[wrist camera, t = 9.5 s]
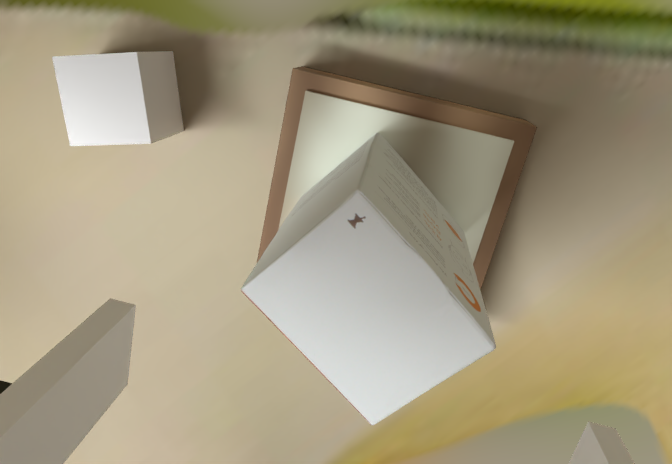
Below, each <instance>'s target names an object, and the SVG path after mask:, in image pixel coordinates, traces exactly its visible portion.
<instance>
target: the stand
mask: <svg viewBox="0 0 672 464" xmlns="http://www.w3.org/2000/svg"><path fill="white" fill-rule="evenodd" d="M536 129H537V127H536V126H535V125H533V124H531V123H530V122H528V121H527V120H524V119H520V118H515V117H511V116H507V115H503V114H499V113H495V112H490V111H486V110H482V109H478V108H474V107H470V106H465V105H461V104H457V103H453V102H449V101H444V100H440V99H436V98H432V97H428V96H424V95H419V94H415V93H411V92H407V91H403V90H399V89H394V88H390V87H386V86H382V85H378V84H373V83H369V82H365V81H361V80H357V79H353V78H348V77H344V76H340V75H336V74H332V73H327V72H323V71H319V70H315V69H311V68H307V67H298V68H293V70H292V75H291V81H290V86H289V92H288V97H287V102H286V108H285V113H284V119H283V124H282V129H281V135H280V140H279V146H278V151H277V156H276V162H275V167H274V173H273V178H272V183H271V189H270V194H269V200H268V205H267V210H266V216H265V221H264V227H263V232H262V237H261V243H260V248H259V254H258V259H257V262H258V261H259V259H260V258H261V256H262V255H263V253H264V251H265V250H266V248H267V247H268V246H269V244H270V242H271V241H272V240H273V238H274V237H275V235H276V233H277V232H278V230H279V229H280V227H281V226H282V224H283V222H284V221H285V219H286V218H287V216H288V215H289V214H290V212H291V211H292V209H293V208H294V206H295V205H296V204H297V202H298V200H299V199H300V198H301V197H302V196H303V195H304V194H305V193H307V192H308V191H309V190H310V189H311V188H312V187H314V186H315V185H316V184H317V183H318V182H319V181H321V180H322V179H323V178H324V177H325V176H327V175H328V174H329V173H330V172H331V171H333V170H334V169H335V168H336V167H337V166H338V165H340V164H341V163H342V162H343V161H344V160H345V159H347V158H348V157H349V156H350V155H351V154H352V153H354V152H355V151H356V150H357V149H358V148H359V147H361V146H362V145H363V144H364V143H365V142H366V141H368V140H369V139H370V138H371V137H372V136H373V135H375V134H376V133H378V132H379V133H380V134H381V135H382V136H383V137H384V139H385V140H386V141H387V142H388V143H389V144H390V145H391V146H392V147H393V149H394V150H395V151H396V152H397V153H398V154H399V155H400V157H401V158H402V159H403V160H404V161H405V162H406V164H407V165H408V166H409V167H410V168H411V169H412V171H413V172H414V173H415V174H416V175H417V176H418V178H419V179H420V180H421V181H422V182H423V183H424V185H425V186H426V187H427V188H428V189H429V190H430V192H431V193H432V194H433V195H434V196H435V197H436V199H437V200H438V201H439V202H440V203H441V205H442V206H443V207H444V208H445V209H446V210H447V212H448V213H449V214H450V215H451V216H452V218H453V219H454V220H455V221H456V222H457V224H458V225H459V226H460V227H461V229H462V230H463V231H464V234H465V238H466V242H467V245H468V249H469V252H470V256H471V260H472V263H473V267H474V270H475V273H476V276H477V280H478V284H479V287H480V290H481V287H482V284H483V281H484V278H485V275H486V272H487V270H488V267H489V264H490V261H491V258H492V255H493V252H494V249H495V247H496V244H497V241H498V238H499V235H500V232H501V229H502V226H503V224H504V221H505V218H506V215H507V212H508V209H509V206H510V203H511V201H512V198H513V195H514V192H515V189H516V186H517V183H518V180H519V177H520V175H521V172H522V169H523V166H524V163H525V160H526V157H527V154H528V152H529V149H530V146H531V143H532V140H533V137H534V134H535V131H536Z"/></svg>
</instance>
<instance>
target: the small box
mask: <svg viewBox="0 0 672 464" xmlns="http://www.w3.org/2000/svg"><path fill="white" fill-rule="evenodd" d="M241 291H242V292H243V294H244V295H245V296H246V297H247V298H248V299H249V300H250V301H251V302H252V303H253V304H254V305H255V306H256V307H257V308H258V309H259V310H260V311H261V312H262V313H263V314H264V315H265V316H266V317H267V318H268V319H269V320H270V321H271V322H272V323H273V324H274V325H275V326H276V327H277V328H278V329H279V331H280V332H281V333H282V334H283V335H284V336H285V337H286V338H287V339H288V340H289V341H290V342H291V343H292V344H293V345H294V346H295V347H296V348H297V349H298V350H299V351H300V352H301V353H302V354H303V355H304V356H305V357H306V358H307V359H308V360H309V361H310V362H311V363H312V364H313V365H314V366H315V367H316V369H317V370H318V371H319V372H320V373H321V374H322V375H323V376H324V377H325V378H326V379H327V380H328V381H329V382H330V383H331V384H332V385H333V386H334V387H335V388H336V389H337V390H338V391H339V392H340V393H341V394H342V395H343V396H344V397H345V398H346V399H347V400H348V401H349V403H350V404H351V405H352V406H353V407H354V408H355V409H356V410H357V411H358V412H359V413H360V414H361V415H362V416H363V417H364V418H365V419H366V420H367V421H368V422H369V423H370V425H375V424H376V423H378V422H379V421H381V420H383V419H384V418H386V417H387V416H389V415H390V414H392V413H394V412H395V411H397V410H398V409H400V408H401V407H403V406H404V405H406V404H407V403H409V402H411V401H412V400H414V399H415V398H417V397H419V396H420V395H422V394H423V393H425V392H427V391H428V390H430V389H431V388H433V387H435V386H436V385H438V384H439V383H441V382H443V381H444V380H446V379H448V378H449V377H451V376H452V375H454V374H456V373H457V372H459V371H460V370H462V369H464V368H465V367H467V366H469V365H470V364H472V363H473V362H475V361H477V360H478V359H480V358H482V357H483V356H485V355H487V354H488V353H490V352H492V351H493V350H494V349H495V348H496V344H495V341H494V337H493V333H492V330H491V326H490V322H489V319H488V315H487V312H486V309H485V305H484V301H483V298H482V294H481V291H480V287H479V284H478V280H477V276H476V273H475V270H474V267H473V263H472V260H471V256H470V252H469V249H468V245H467V242H466V238H465V234H464V231H463V230H462V229H461V227H460V226H459V225H458V224H457V222H456V221H455V220H454V219H453V218H452V216H451V215H450V214H449V213H448V212H447V210H446V209H445V208H444V207H443V206H442V205H441V203H440V202H439V201H438V200H437V199H436V197H435V196H434V195H433V194H432V193H431V192H430V190H429V189H428V188H427V187H426V186H425V185H424V183H423V182H422V181H421V180H420V179H419V178H418V176H417V175H416V174H415V173H414V172H413V171H412V169H411V168H410V167H409V166H408V165H407V164H406V162H405V161H404V160H403V159H402V158H401V157H400V155H399V154H398V153H397V152H396V151H395V150H394V149H393V147H392V146H391V145H390V144H389V143H388V142H387V141H386V140H385V139H384V137H383V136H382V135H381V134H380V133H379V132H378V133H376V134H375V135H373V136H372V137H371V138H370V139H369V140H368V141H366V142H365V143H364V144H363V145H362V146H361V147H359V148H358V149H357V150H356V151H355V152H354V153H352V154H351V155H350V156H349V157H348V158H347V159H345V160H344V161H343V162H342V163H341V164H340V165H338V166H337V167H336V168H335V169H334V170H333V171H331V172H330V173H329V174H328V175H327V176H325V177H324V178H323V179H322V180H321V181H319V182H318V183H317V184H316V185H315V186H314V187H312V188H311V189H310V190H309V191H308V192H307V193H305V194H304V195H303V196H302V197H301V198H300V199H299V200H298V202H297V204H296V205H295V206H294V208H293V209H292V211H291V212H290V214H289V215H288V216H287V218H286V219H285V221H284V222H283V224H282V226H281V227H280V229H279V230H278V232H277V233H276V235H275V237H274V238H273V240H272V241H271V242H270V244H269V246H268V247H267V248H266V250H265V251H264V253H263V255H262V256H261V258H260V259H259V261H258V262H257V264H256V266H255V267H254V269H253V270H252V272H251V273H250V275H249V277H248V278H247V280H246V281H245V283H244V284H243V286H242V288H241Z"/></svg>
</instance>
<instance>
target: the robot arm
mask: <svg viewBox="0 0 672 464" xmlns="http://www.w3.org/2000/svg"><path fill="white" fill-rule="evenodd" d="M135 307H136V305H134V304H130V303H126V302H122V301H118V300H114V299H109V300H108V301H107V302H106V303H104V304H103V305H102V306H101V307H100V308H99V309H97V310H96V311H95V312H94V313H93V314H92V315H91V316H89V317H88V318H87V319H86V320H85V321H84V322H83V323H81V324H80V325H79V326H78V327H77V328H76V329H75V330H73V331H72V332H71V333H70V334H69V335H68V336H66V337H65V338H64V339H63V340H62V341H61V342H60V343H58V344H57V345H56V346H55V347H54V348H53V349H52V350H50V351H49V352H48V353H47V354H46V355H45V356H44V357H42V358H41V359H40V360H39V361H38V362H37V363H36V364H34V365H33V366H32V367H31V368H30V369H29V370H27V371H26V372H25V373H24V374H23V375H22V376H21V377H19V378H18V379H17V380H16V381H15V382H14V383H13V384H12V383H8V382H4V381H0V464H63V463H64V462H65V461H66V460H67V458H68V457H69V456H70V455H71V453H72V452H73V451H74V450H75V448H76V447H77V446H78V445H79V443H80V442H81V441H82V440H83V439H84V437H85V436H86V435H87V434H88V432H89V431H90V430H91V429H92V427H93V426H94V425H95V424H96V422H97V421H98V420H99V419H100V417H101V416H102V415H103V414H104V413H105V411H106V410H107V409H108V408H109V406H110V405H111V404H112V403H113V401H114V400H115V399H116V398H117V396H118V395H119V394H120V393H121V392H122V390H123V389H124V388H125V387H126V385H127V384H128V374H129V365H130V355H131V346H132V336H133V327H134V317H135ZM569 464H635V463H634V461H633V460H632V457H631V456H630V454H629V452H628V451H627V448H626V447H625V445H624V443H623V442H622V439H621V437H620V436H619V434H618V432H617V430H616V429H615V428H612V427H608V426H604V425H600V424H596V423H592V422H588V423H587V425H586V427H585V430H584V432H583V434H582V436H581V438H580V441H579V442H578V445H577V447H576V449H575V451H574V453H573V455H572V457H571V459H570V462H569Z"/></svg>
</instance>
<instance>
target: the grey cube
mask: <svg viewBox="0 0 672 464" xmlns="http://www.w3.org/2000/svg"><path fill="white" fill-rule="evenodd" d="M52 59H53V64H54V69H55V74H56V79H57V84H58V88H59V93H60V98H61V103H62V108H63V113H64V118H65V123H66V128H67V133H68V137H69V142H70V146H90V145H121V144H151V143H154V142H156V141H159V140H162V139H164V138H167V137H170V136H172V135H175V134H177V133H180V132H183V131H184V128H183V120H182V113H181V106H180V99H179V91H178V84H177V77H176V70H175V62H174V55H173V51H155V52H127V53H109V54H90V55H72V56H54V57H52Z"/></svg>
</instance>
